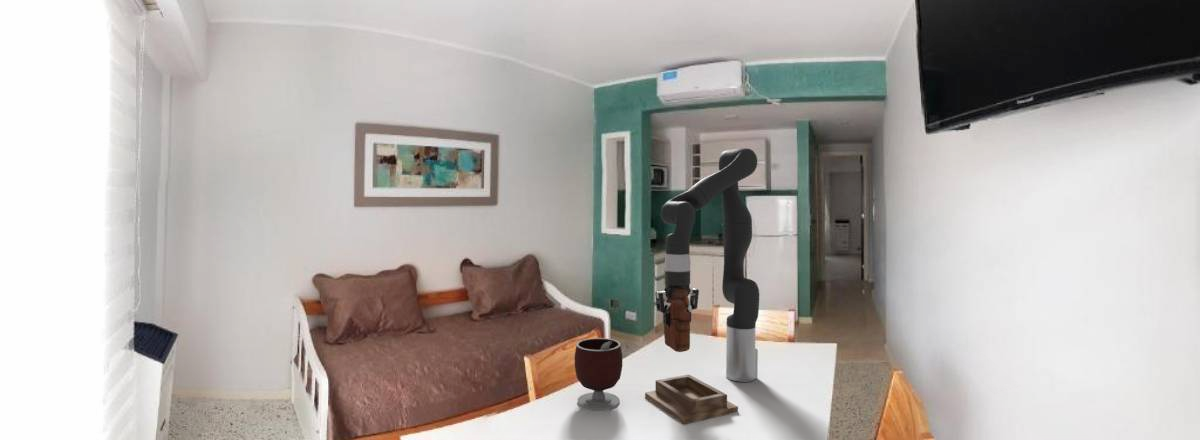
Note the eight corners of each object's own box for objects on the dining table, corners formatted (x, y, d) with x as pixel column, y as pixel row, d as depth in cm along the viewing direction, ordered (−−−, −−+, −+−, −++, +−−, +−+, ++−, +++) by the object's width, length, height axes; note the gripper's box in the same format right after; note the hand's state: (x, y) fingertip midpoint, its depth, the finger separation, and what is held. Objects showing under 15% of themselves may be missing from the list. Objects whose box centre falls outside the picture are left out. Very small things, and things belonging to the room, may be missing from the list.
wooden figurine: (695, 351, 145) (696, 289, 144) (675, 353, 143) (675, 290, 142) (678, 340, 156) (679, 283, 155) (659, 342, 154) (660, 284, 154)
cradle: (694, 387, 157) (695, 371, 157) (738, 411, 139) (738, 394, 139) (645, 397, 149) (645, 380, 149) (683, 424, 131) (683, 405, 131)
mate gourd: (568, 397, 150) (567, 330, 149) (610, 390, 155) (610, 326, 154) (587, 417, 135) (587, 344, 135) (633, 409, 141) (633, 338, 140)
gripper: (690, 266, 155) (690, 319, 156) (649, 268, 149) (649, 324, 150) (705, 269, 148) (704, 325, 149) (662, 271, 142) (662, 330, 143)
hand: (677, 324), depth 149 cm, fingers closed on wooden figurine, 6 cm apart
